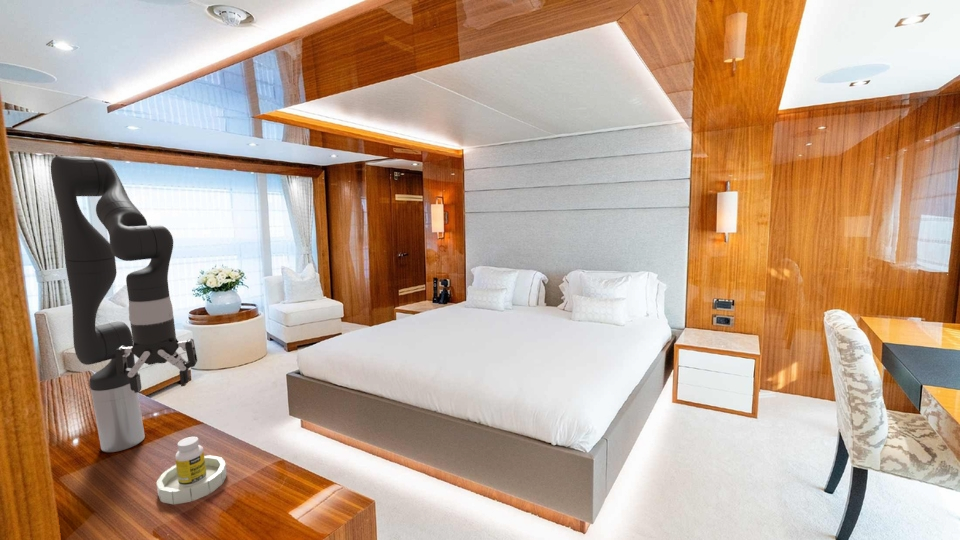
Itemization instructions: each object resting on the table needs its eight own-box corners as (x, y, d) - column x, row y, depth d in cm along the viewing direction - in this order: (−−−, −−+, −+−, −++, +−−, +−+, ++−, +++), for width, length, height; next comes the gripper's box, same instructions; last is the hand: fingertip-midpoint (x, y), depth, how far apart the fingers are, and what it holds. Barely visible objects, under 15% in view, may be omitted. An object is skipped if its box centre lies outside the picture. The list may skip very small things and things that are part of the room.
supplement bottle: (193, 489, 97) (187, 449, 96) (173, 486, 98) (166, 446, 97) (212, 474, 103) (207, 435, 101) (193, 471, 104) (187, 433, 102)
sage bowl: (153, 484, 101) (152, 473, 100) (217, 460, 110) (215, 449, 109) (165, 512, 92) (163, 500, 91) (233, 483, 101) (232, 471, 100)
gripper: (194, 310, 100) (201, 376, 103) (117, 316, 95) (128, 386, 98) (187, 319, 93) (195, 390, 96) (104, 326, 88) (115, 401, 91)
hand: (161, 388), depth 97 cm, fingers open, 8 cm apart
